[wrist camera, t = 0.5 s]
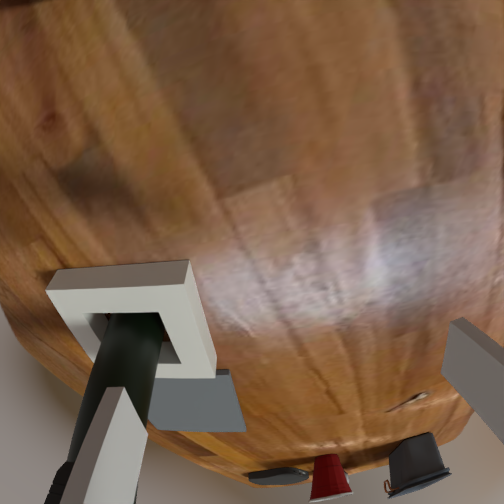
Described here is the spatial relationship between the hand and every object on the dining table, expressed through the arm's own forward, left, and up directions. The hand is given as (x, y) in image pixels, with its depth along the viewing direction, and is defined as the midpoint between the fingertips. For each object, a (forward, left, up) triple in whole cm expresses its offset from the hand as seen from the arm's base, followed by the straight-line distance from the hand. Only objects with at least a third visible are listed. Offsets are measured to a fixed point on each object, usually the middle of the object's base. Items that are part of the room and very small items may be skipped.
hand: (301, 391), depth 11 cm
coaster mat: (+32, -14, -15) cm, 38 cm away
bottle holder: (+12, -14, -15) cm, 24 cm away
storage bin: (+74, +34, -15) cm, 83 cm away
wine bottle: (+12, -14, -15) cm, 24 cm away
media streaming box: (+84, -1, -16) cm, 85 cm away
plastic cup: (+69, +11, -15) cm, 71 cm away
